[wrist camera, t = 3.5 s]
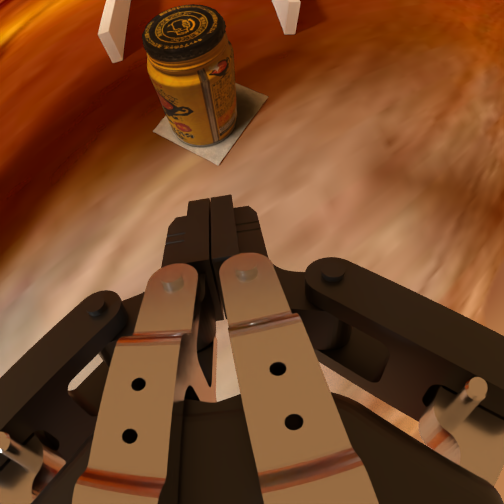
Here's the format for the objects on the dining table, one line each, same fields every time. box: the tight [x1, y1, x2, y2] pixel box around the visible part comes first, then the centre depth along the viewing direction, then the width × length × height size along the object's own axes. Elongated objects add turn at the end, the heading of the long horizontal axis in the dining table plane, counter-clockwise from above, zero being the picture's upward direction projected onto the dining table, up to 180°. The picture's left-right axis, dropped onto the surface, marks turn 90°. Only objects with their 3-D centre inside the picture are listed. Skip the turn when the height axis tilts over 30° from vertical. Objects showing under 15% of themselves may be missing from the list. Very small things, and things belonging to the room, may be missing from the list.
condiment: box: [142, 4, 268, 165], centre depth 21 cm, size 7×8×12 cm
